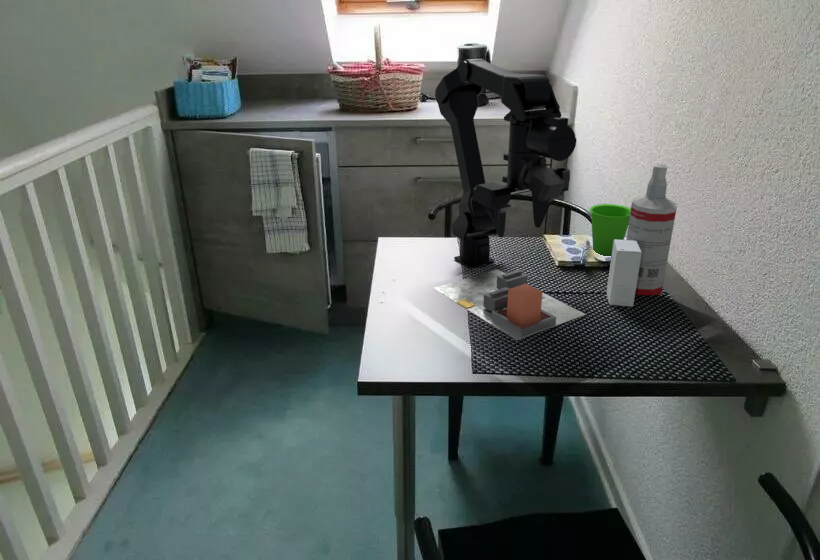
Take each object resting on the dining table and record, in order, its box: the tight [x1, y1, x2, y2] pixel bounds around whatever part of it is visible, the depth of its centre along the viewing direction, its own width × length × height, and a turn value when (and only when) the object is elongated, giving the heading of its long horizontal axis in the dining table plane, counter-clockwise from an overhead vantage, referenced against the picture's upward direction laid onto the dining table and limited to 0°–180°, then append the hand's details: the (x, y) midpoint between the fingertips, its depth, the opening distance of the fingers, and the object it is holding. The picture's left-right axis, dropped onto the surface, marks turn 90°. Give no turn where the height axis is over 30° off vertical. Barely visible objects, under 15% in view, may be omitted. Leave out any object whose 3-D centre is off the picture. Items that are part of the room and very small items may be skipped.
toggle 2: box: [496, 269, 529, 289], centre depth 113 cm, size 3×5×3 cm, turn 122°
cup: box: [589, 203, 631, 256], centre depth 129 cm, size 9×9×11 cm
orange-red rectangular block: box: [507, 283, 544, 327], centre depth 101 cm, size 4×4×6 cm
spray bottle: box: [625, 163, 678, 297], centre depth 110 cm, size 8×8×25 cm
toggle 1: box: [483, 287, 510, 312], centre depth 106 cm, size 3×5×3 cm, turn 122°
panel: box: [433, 269, 586, 341], centre depth 110 cm, size 24×16×3 cm, turn 32°
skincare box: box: [606, 239, 642, 307], centre depth 108 cm, size 6×4×12 cm
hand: (519, 232), depth 113 cm, fingers open, 9 cm apart
